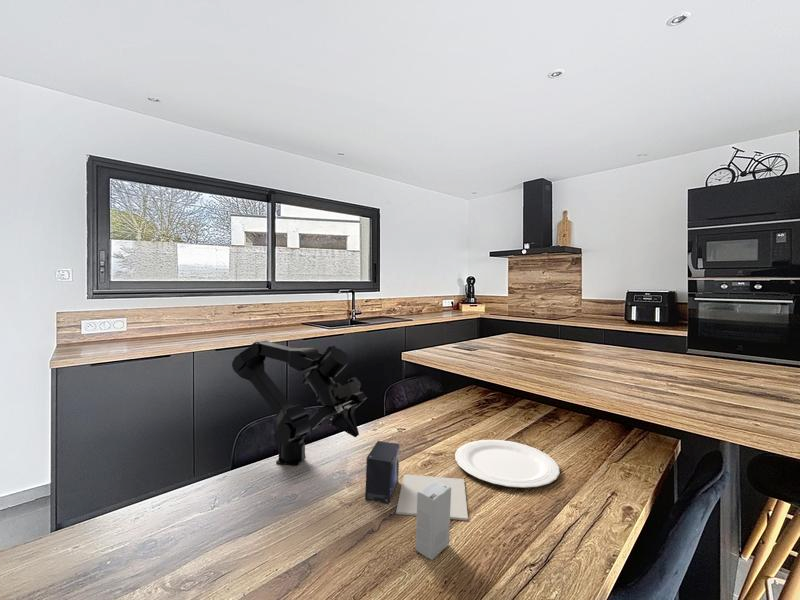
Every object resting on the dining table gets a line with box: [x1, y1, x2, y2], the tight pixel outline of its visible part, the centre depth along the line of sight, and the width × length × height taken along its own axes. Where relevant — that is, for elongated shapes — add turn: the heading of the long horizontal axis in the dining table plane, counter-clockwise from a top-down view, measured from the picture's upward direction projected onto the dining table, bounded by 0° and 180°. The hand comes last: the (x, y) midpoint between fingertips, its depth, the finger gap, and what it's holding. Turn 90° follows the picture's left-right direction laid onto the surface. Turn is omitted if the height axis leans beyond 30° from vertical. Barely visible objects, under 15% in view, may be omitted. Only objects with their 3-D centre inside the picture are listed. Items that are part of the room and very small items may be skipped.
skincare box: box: [414, 481, 451, 561], centre depth 74 cm, size 6×4×12 cm
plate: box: [454, 439, 560, 489], centre depth 110 cm, size 29×29×2 cm
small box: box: [364, 440, 400, 504], centre depth 94 cm, size 11×6×10 cm, turn 168°
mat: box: [395, 474, 469, 522], centre depth 93 cm, size 16×17×1 cm
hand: (357, 436), depth 98 cm, fingers closed
